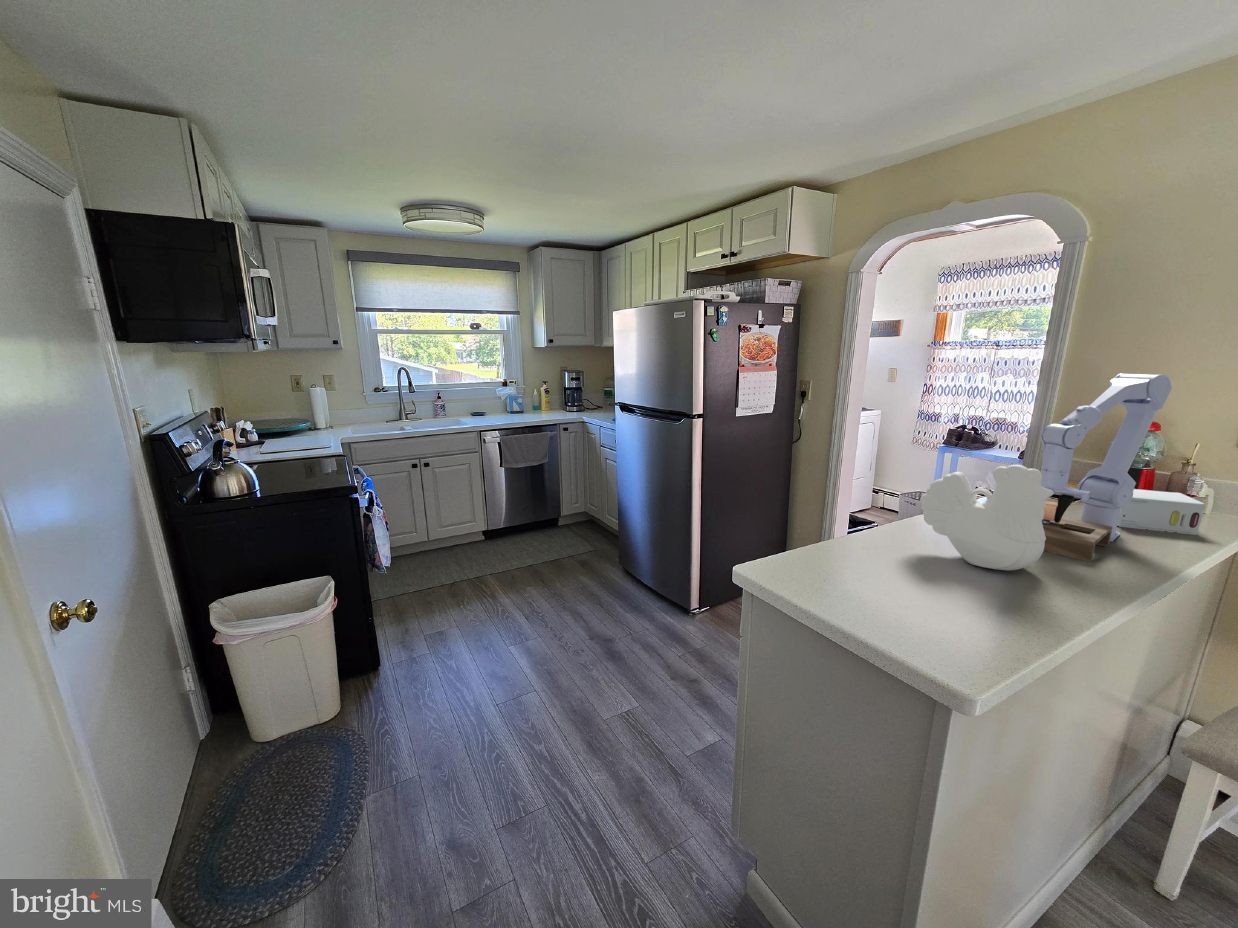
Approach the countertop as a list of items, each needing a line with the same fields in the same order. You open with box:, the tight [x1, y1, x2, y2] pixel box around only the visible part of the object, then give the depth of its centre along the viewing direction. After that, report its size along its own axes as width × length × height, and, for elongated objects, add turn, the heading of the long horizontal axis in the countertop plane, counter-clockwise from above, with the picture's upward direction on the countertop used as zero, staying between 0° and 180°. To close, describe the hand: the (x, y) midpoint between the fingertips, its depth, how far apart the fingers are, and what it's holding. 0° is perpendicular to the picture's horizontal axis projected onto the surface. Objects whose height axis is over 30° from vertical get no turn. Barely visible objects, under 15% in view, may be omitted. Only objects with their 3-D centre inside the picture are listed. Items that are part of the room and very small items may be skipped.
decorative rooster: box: [919, 464, 1055, 571], centre depth 119 cm, size 25×16×25 cm, turn 29°
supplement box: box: [1117, 488, 1206, 536], centre depth 145 cm, size 17×13×9 cm
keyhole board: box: [1042, 516, 1113, 562], centre depth 131 cm, size 18×16×5 cm
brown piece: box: [1042, 500, 1058, 524], centre depth 133 cm, size 4×4×8 cm
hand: (1046, 519), depth 133 cm, fingers closed on brown piece, 4 cm apart
